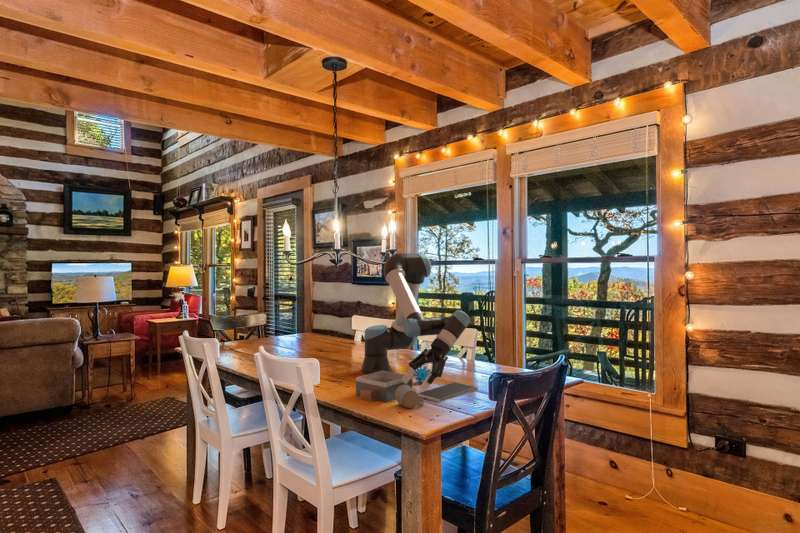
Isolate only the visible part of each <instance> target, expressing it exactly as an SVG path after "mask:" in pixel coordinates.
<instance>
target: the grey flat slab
mask: <svg viewBox="0 0 800 533" xmlns="http://www.w3.org/2000/svg"><path fill="white" fill-rule="evenodd" d="M478 390H479V387H478V386H475V385H470V384H466V383H460V382H457V381H454V382H451V383H448V384H444V385H441V386H438V387H434V388H431V389H427V390H426V391H425V392H424V391H422V392H421V391H420V392H417V394H418V396H419V398H420V399H422V400H428V401H430V402H435V403H442V402H444V401H447V400H451V399H454V398H456V397H457V398H458V397H460V396H463V395H466V394H469V393H472V392H475V391H478Z"/></svg>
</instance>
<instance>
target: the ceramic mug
mask: <svg viewBox="0 0 800 533" xmlns="http://www.w3.org/2000/svg"><path fill="white" fill-rule="evenodd" d="M417 393H418V392H417V391H416V390H415V389H413V387H412V388H411V387H410V386H408V385H405V384H404V385H400V386H399V387H398V388H397V389H396V391H395V399H394V400H395V401H396V402H397V403H398V404H400V405H401V406H402V407H404V408H405V409H413V408H414V407H416V406H418V405H420V406H423V405H424V403H425V401H424V399H422V398H419V396H418V394H417Z"/></svg>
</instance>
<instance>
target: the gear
mask: <svg viewBox="0 0 800 533" xmlns="http://www.w3.org/2000/svg"><path fill="white" fill-rule="evenodd" d="M422 367H423V368H422ZM430 372H431V369H430V368H429V369H427V366H426V365H422V366H421V367H419V368H417V369H416V372H415V373H414V374H413V376H412V377H415V378H414V379H415V380H416V381H418V383H420V384H422V383H423V382H424V381H425V379H426V378H427V376H428V375H429V373H430ZM430 374H431V373H430Z"/></svg>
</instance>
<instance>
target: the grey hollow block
mask: <svg viewBox="0 0 800 533" xmlns="http://www.w3.org/2000/svg"><path fill="white" fill-rule="evenodd" d="M405 374H406V373H402V372H401V373H400V372H395V371H391V372H390V371H384V370H381V371H378V372H374V373H370V374H364V375H359V376H355V396H357V395H358V396H357V397H360V398H359V399H360V400H363V401H366V400H367V401H366V402H370V401H372V402H375V401H378V400H379V402H383V403H388V402H392V401H393V400H396V399H395V391H396V389H397V388H398V387H399V386H400V385H404V384H405V383H404V382H403V381H402V380H401V379H402V378H403V377H404V375H405ZM405 385H408V386H410V387H411V388H412V389H413V376H412V377H411V378H410V380H409V381H408V383H407V384H405ZM374 400H375V401H374Z"/></svg>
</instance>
